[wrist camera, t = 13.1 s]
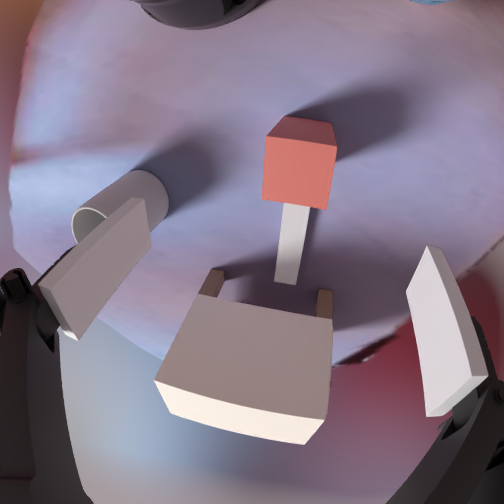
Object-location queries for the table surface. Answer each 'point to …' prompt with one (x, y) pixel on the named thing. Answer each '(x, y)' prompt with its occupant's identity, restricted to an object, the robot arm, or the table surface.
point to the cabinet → (250, 366)
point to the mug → (122, 202)
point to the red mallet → (297, 182)
